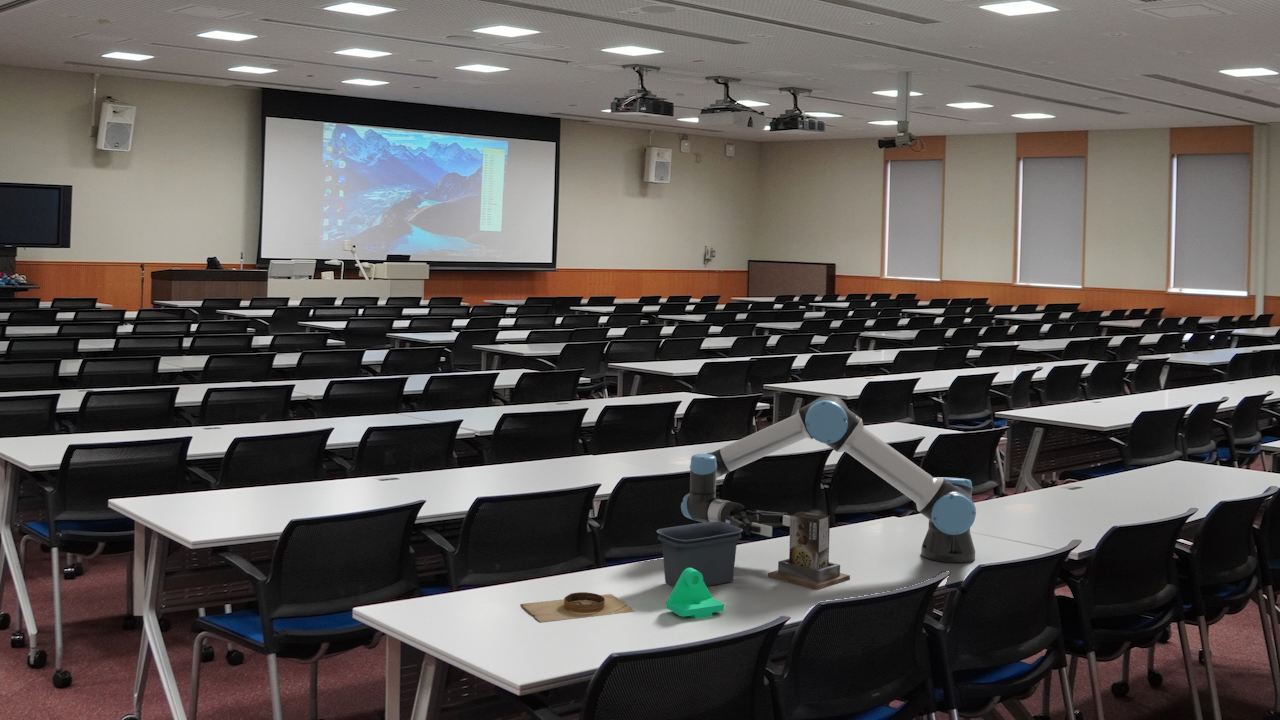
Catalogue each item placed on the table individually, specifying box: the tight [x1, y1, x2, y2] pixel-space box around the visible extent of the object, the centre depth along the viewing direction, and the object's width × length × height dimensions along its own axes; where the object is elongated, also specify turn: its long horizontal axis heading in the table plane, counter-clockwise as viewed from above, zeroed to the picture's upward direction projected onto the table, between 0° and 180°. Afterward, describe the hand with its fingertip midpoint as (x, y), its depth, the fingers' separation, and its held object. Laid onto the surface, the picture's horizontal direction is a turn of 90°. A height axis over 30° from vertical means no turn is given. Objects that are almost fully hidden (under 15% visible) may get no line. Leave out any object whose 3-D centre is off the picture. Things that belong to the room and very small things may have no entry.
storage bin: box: [656, 522, 743, 588], centre depth 304 cm, size 21×16×14 cm
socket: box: [767, 558, 851, 590], centre depth 310 cm, size 15×16×4 cm
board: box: [519, 591, 636, 624], centre depth 280 cm, size 25×15×3 cm, turn 115°
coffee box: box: [788, 510, 831, 570], centre depth 310 cm, size 9×6×16 cm
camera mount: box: [665, 568, 725, 620], centre depth 278 cm, size 12×8×10 cm, turn 117°
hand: (787, 528), depth 315 cm, fingers open, 13 cm apart
